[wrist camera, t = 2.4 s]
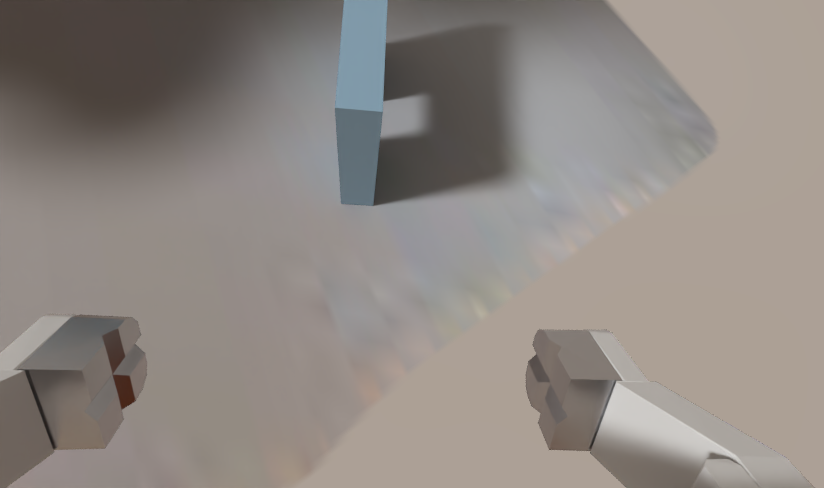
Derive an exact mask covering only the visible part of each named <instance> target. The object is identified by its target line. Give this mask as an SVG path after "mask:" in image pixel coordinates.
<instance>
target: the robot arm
mask: <svg viewBox="0 0 824 488" xmlns="http://www.w3.org/2000/svg"><path fill="white" fill-rule="evenodd" d="M140 336H141V332H140V328H139V324H138V321H137V320H135V319H134V318H132V317H118V316H97V315H75V314H49V315H45V316H42V317H41V318H40V319H39V320H38V321H37V322H35V323H34V324H33V325H32V326H31V327H30V328H29V329H27V330H26V331H25V332H24V333H23V334H22V335H20V336H19V337H18V338H17V339H16V340H15V341H14V342H12V343H11V344H10V345H9V346H8V347H7V348H6V349H4V350H3V351H2V352H1V353H0V488H6V487H8V486H9V485H10V484H12V483H13V482H14V481H16V480H17V479H19V478H20V477H21V476H23V475H24V474H25V473H27V472H28V471H29V470H31V469H32V468H34V467H35V466H36V465H38V464H39V463H40V462H42V461H43V460H44V459H46V458H47V457H49V456H50V455H51V454H53V453H54V450H68V449H105V448H106V447H107V445H108V444H109V442H110V441H111V439H112V437H113V436H114V434H115V433H116V431H117V430H118V428H119V427H120V425H121V423H122V422H123V420H124V417H123V413H122V409H124V408H125V407H127V406H129V405H130V404H132V403H133V402H135V401H136V400H137V398H138V396H139V395H140V393H141V391H142V390H143V387H144V383H145V380H146V376H147V360H146V355H145V353H144V352H143V351H142V350H141V349H140V348H139V347H138V346H137V345H136V344H135V343H136V342H137V340H138V339H139V337H140ZM533 347H534V349H535V351H536V355H535V356H534V357H533V358H532V359H531V360H530V361H528V366H527V371H526V390H527V394H528V398H529V401H530V403H531V406H532V407H533V408H535V409H536V410H537V411H539V412H540V413H541V414H540V419H539V422H538V423H539V426H540V428H541V431H542V433H543V436H544V438H545V441H546V443H547V445H548V448H549V450H577V451H591V452H590V453H591V454H592V455H593V456H594V457H595V458H596V459H597V460H598V461H599V462H600V463H601V464H602V465H603V466H604V467H605V468H606V469H608V471H609V472H611V473H612V474H613V475H614V476H615V477H616V478H617V479H618V480H619V481H620V482H621V483H622V484H623V485H624V486H625V487H627V488H814V487H813V486H812V485H811V484H810V483H809V481H808V480H807V479H806V478H805V477H804V476H803V475H802V474H801V473H800V472H799V471H798V470H797V469H796V467H794V465H793V464H792V463H791V462H790V461H789V460H788V459H787V458H786V457H784V456H783V455H781V454H779V453H777V452H776V451H774V450H772V449H771V448H769V447H767V446H765V445H764V444H762V443H760V442H759V441H757V440H755V439H753V438H752V437H750V436H748V435H747V434H745V433H743V432H742V431H740V430H738V429H736V428H734V427H733V426H731V425H729V424H728V423H726V422H724V421H723V420H721V419H719V418H718V417H716V416H714V415H712V414H711V413H709V412H707V411H706V410H704V409H702V408H701V407H699V406H697V405H695V404H694V403H692V402H690V401H689V400H687V399H685V398H683V397H682V396H680V395H678V394H677V393H675V392H673V391H672V390H670V389H668V388H666V387H665V386H663V385H661V384H660V383H658V382H649V381H648V379H647V378H646V377H645V375H644V374H643V373H642V371H641V370H640V369H639V368H638V367H637V365H636V364H635V362H634V361H633V360H632V358H631V357H630V356H629V354H628V353H627V352H626V350H625V349H624V348H623V346H622V345H621V344H620V342H619V341H618V340H617V339H616V337H615V336H614V334H613V333H612V332H610V331H608V330H538V331H537V333H536V335H535V338H534V341H533Z"/></svg>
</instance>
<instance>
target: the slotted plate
mask: <svg viewBox="0 0 824 488" xmlns="http://www.w3.org/2000/svg"><path fill="white" fill-rule="evenodd" d="M387 3H388V0H344V6H343V18H342V30H341V42H340V54H339V65H338V77H337V89H336V101H335V116H336V132H337V147H338V162H339V177H340V193H341V204H355V205H370V206H373V203H374V193H375V183H376V173H377V163H378V153H379V143H380V133H381V123H382V113H383V93H384V70H385V48H386V25H387Z"/></svg>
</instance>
